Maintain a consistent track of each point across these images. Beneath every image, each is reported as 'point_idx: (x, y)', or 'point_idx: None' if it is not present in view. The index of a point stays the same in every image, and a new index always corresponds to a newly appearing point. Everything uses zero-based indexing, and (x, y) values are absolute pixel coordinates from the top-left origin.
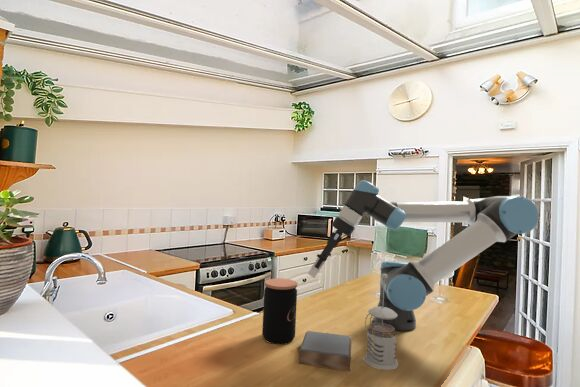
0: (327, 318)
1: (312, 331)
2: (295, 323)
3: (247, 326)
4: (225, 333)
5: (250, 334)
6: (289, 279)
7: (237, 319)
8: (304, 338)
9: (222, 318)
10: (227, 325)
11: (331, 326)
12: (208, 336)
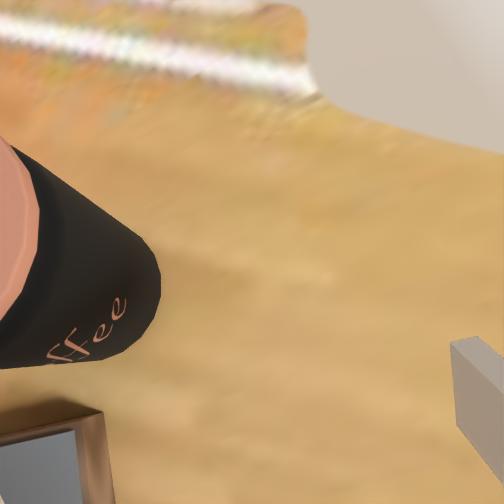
0: (443, 411)
1: (72, 457)
2: (72, 362)
3: (150, 132)
4: (56, 103)
5: (85, 181)
6: (17, 250)
7: (197, 62)
8: (4, 441)
9: (178, 12)
10: (124, 66)
11: (343, 465)
12: (10, 72)
